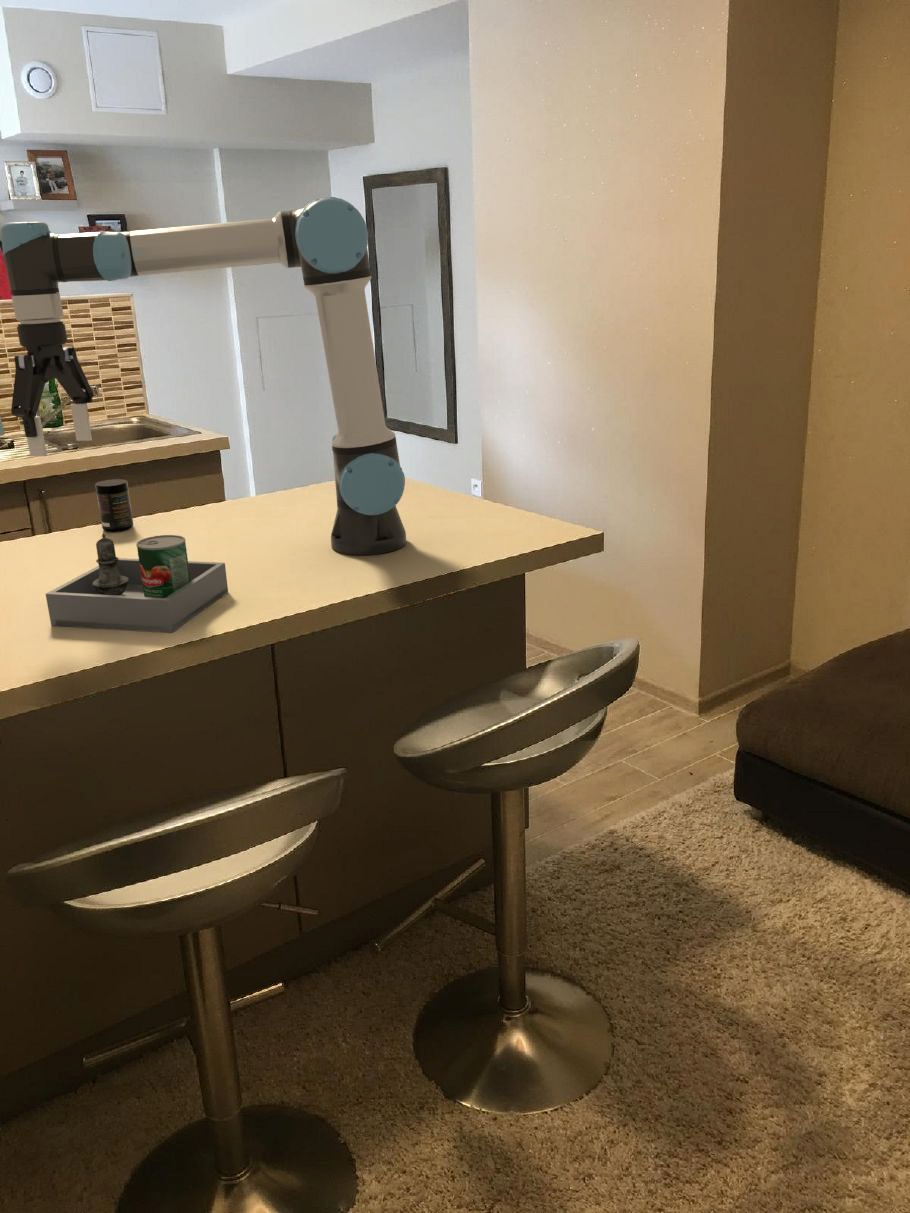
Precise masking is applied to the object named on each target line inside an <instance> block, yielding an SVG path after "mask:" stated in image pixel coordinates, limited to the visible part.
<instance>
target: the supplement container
mask: <svg viewBox="0 0 910 1213" xmlns="http://www.w3.org/2000/svg"><path fill="white" fill-rule="evenodd" d="M94 488H95V493H96V498H97V503H98V504H97V505H98V510H99V516H100V523H101V528H102V530H103V531H104V532H106V533H121V532H127V531H129V530H131V529H132V528H133V527H134V520H133V519H134V518H133V513H132V505H131V499H130V492H129V484H128V480H127V479H121V478H119V479H118V478H117V479H115V478H113V479H107V480H101V481H97V482H96V483H94Z"/></svg>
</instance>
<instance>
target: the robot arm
mask: <svg viewBox="0 0 910 1213" xmlns="http://www.w3.org/2000/svg"><path fill="white" fill-rule="evenodd" d="M0 227H1V228H0V236H1V237H0V238H1V246H2V256H3V260H4V265H5V271H6V274H7V280H8V285H9V290H10V295H11V301H12V305H13V306H12V307H13V311H14V317H15V320H16V321H19V323H18V324H17V326H16V329H17V331H16V332H17V335H18V341H19V345H20V346H21V347H22V348H26V354H15V356H14V366H15V373H14V380H13V381H14V382H13V392H12V400H11V411H10V412H11V415H12V416H15V417H16V418H21V420H22V424H23V428H24V434H25V437H26V440H27V444H28V445H27V446H28V450H29V451H28V452H29V456H30V457H46V456H48V452H47V445H46V441H45V436H44V430H43V425H42V418H41V416H39V415H38V416H37V413H38V409H39V407H40V403H41V399H42V396H43V392H44V389H45V385H46V384H47V383H48V382H49V380H52V379H56V380H57V382H58V383H59V385H60V386H61V387H62V389H63V390H64V391H65V392H66V394H67V395H68V397H69V398H70V399H71V401H72V402H73V403H71V404H70V409H71V415H72V422H73V429H74V434H75V439H76V440H75V441H77V442H90V441H91V442H92V440H93V437H92V430H91V424H90V417H89V410H88V404H91V403H92V402H93V398H94V392H93V390H92V387H91V385H90V383H89V381H88V378H87V376H86V373H85V372H84V370H83V367H82V366H81V364H80V361H79V359H78V356H77V351H76V348H75V347H74V346H63V345H65V344H67V343H68V336H67V335H68V334H67V330H66V324H65V322H64V321H62V319H63V318H64V310H63V306H62V300H61V294H60V289H59V283H68V282H71V283H73V282H98V281H99V282H100V281H108V282H115V281H117V280H126V279H129V278H130V277H132V278H134V277H139V276H149V275H150V276H151V275H160V274H162V275H163V274H169V273H170V274H171V273H173V274H174V273H181V272H193V271H194V272H195V271H204V270H205V271H206V270H213V269H215V270H216V269H226V268H237V267H247V266H258V265H268V264H269V265H270V264H280V265H282V266H283V267H285V268H286V269H289V268H290V269H291V268H301V274H302V280H303V284H304V285H303V286H304V288H305V289H306V290H308V291H309V292H311V293H312V294H313V296H314V297H315V298H314V299H315V301H316V308H317V314H318V319H319V320H318V321H319V326H320V333H321V338H322V343H323V344H322V345H323V349H324V356H325V361H326V367H327V372H328V378H329V386H330V391H331V396H332V403H333V409H334V414H335V419H336V420H335V421H336V425H337V426H336V427H337V433H334V435H333V437H332V442H331V445H332V446H331V451H332V454H333V466H334V467H333V469H334V479H335V480H334V481H335V493H336V494H335V495H336V508H337V510H336V512H335V513H336V514H335V519H334V521H333V526H332V530H331V534H330V543H331V548H332V550H334V551H335V552H338V553H340V554H345V555H355V556H356V555H357V556H358V555H359V556H366V555H369V556H370V555H379V554H380V555H381V554H384V553H389V552H394V551H396V550H400V549H402V548H403V547H404V546H405V545H407V533H406V529H405V526H404V524H403V520H402V519H401V516H400V513H399V511H398V508H397V505H398V504H399V502H400V500H401V498H402V497H403V494H404V492H405V485H406V477H405V472H404V471H403V468H402V467H401V464H400V463H401V462H400V458H399V457H400V456H399V451H398V443H397V437H396V433H395V432H394V431H392V430H391V429H390V428H389V427H387V425H386V421H385V420H386V418H385V414H384V408H383V401H382V395H381V389H380V381H379V375H378V369H377V363H376V356H375V350H374V344H373V343H374V342H373V336H372V330H371V323H370V316H369V311H368V310H369V309H368V302H367V297H366V291H365V290H366V286H367V285H368V284H369V282H370V281H371V279H372V273H371V272H372V271H371V264H370V260H369V259H370V258H369V252H368V244H369V231H368V226H367V224H366V221H365V219H364V217H363V215H362V213H360V211H359V209H357V207H355V206H354V205H353V204H352V203H350V202H349V201H348V200H346V199H342V198H338V197H335V196H331V197H330V196H329V197H328V196H327V197H326V196H325V197H322V198H317V199H316V198H315V199H314V200H313V201H311V202H309V203H308V204H307V205H306V206H304V207H301V208H298V209H293V210H283V211H278V212H277V213H276V214H275V216H274V217H273V218H263V219H262V218H261V219H251V220H250V219H249V220H242V221H241V220H240V221H228V222H219V223H206V224H195V225H188V226H187V225H186V226H172V227H164V228H154V229H153V228H150V229H139V230H131V231H106V230H105V231H104V230H102V231H96V232H92V231H91V232H80V233H79V232H78V233H65V234H60V233H52V232H51V230H50V228H49V225H48V224H47V223H46V222H44V221H31V222H30V221H21V222H20V221H19V222H16V221H15V222H8V223H7V222H6V223H4V224H3V225H2V226H0Z"/></svg>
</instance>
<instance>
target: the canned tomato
mask: <svg viewBox="0 0 910 1213" xmlns="http://www.w3.org/2000/svg"><path fill="white" fill-rule="evenodd" d="M186 544H187V543H186V538H185V537H184V536H181V535H175V534H165V535H164V534H162V535H154V536H153V535H152V536H149V537H145V538H142V539H140V540H138V541H137V542H136V548H137V556H138V559H139V563H140V564H139V565H140V570H141V577H142V584H143V590H144V597H155V598H166V597H168V596H169V595H171V594H172V593H174V592H175V591H177V590H178V589H180V588H181V587H183V586H184V585H186V584H187V583H189V582H191V580H190V572H189V566H188V561H189V558H188V553H187V550H188V549H187V545H186Z"/></svg>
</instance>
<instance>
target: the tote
mask: <svg viewBox="0 0 910 1213" xmlns="http://www.w3.org/2000/svg"><path fill="white" fill-rule="evenodd" d="M117 558H118V561H117V565H118V571H119V573H120V575H121V576H125V577H127V578H128V579H129V580H128V582H127V588H126V590H125V592H124V593H123V595H126V596H117V595H100V594H98V592H97V591H96V589H95V586H93V584H92V583H93V582H94V581H95V580H97V579H99V575H100V570H99V565H97V566H95V567H93V568H91V569H90V570H88V571H86V572H84V573H82V574H80V575H78V576H75V577H74V578H73V579H71V580H69V581H67V582H65V583H63V584H61V585H60V586H57V587H56V588H54V589H52V590H50V591H48V592H46V593H45V599H46V605H47V610H48V614H49V615H48V616H49V621H50V622H49V623H50V626H52V627H53V626H54V627H68V628H71V627H72V628H84V629H85V628H86V629H87V628H88V629H101V630H103V629H104V630H117V631H118V630H119V631H134V632H149V633H151V632H152V633H162V634H163V633H166V634H173V633H174V632H176V631H177V630H178V629H180V628H181V627H182V626H184V625H185V624H187V623H188V622H190V621H191V620H193V618H195V617H197V616H198V615H199V614H201V613H202V612H204V611H205V610H206V609H207V608H209V607H210V606H212V605H213V604H214V603H216V602H217V601H219V600H220V599H221V598H222V597H224V596H226V595H227V594H228V593H229V586H228V579H227V571H226V569H227V568H226V563H225V562H216V561H215V562H214V561H193V560H192V561H191V560H188V566H189V572H190V580H191V582H189V583H187V584H186V585H184V586H183V587H181V588H180V589H178V590H177V591H175V592H174V593H172V594H171V595H169V596H168V597H166V598H155V597H144V590H143V584H142V577H141V570H140V565H139V564H140V563H139V558H125V557H124V558H123V557H117Z"/></svg>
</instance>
